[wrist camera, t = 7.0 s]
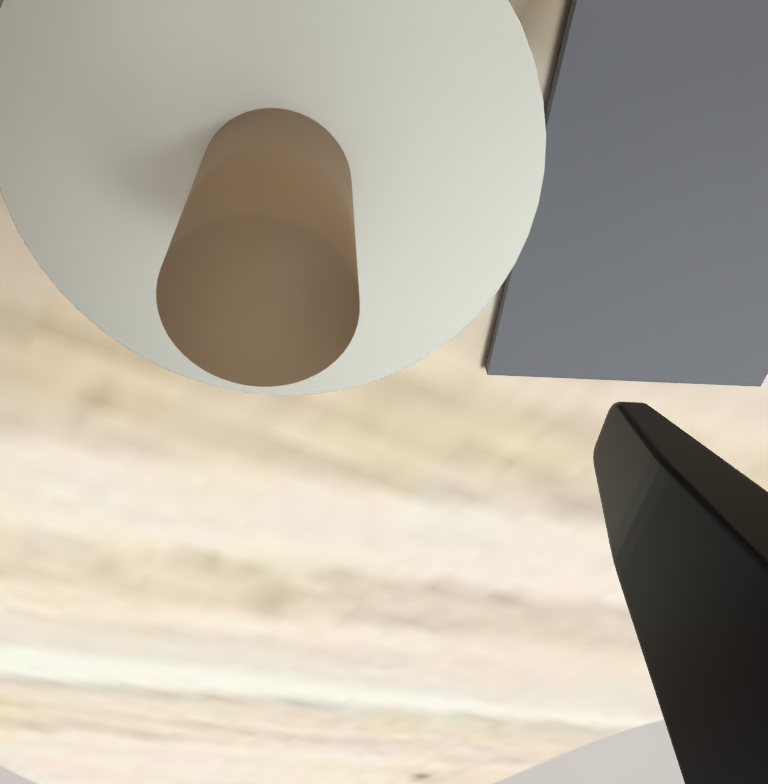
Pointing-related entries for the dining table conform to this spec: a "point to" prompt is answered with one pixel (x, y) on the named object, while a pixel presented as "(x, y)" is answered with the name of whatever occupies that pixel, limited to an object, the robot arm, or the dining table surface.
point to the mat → (649, 202)
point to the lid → (272, 175)
